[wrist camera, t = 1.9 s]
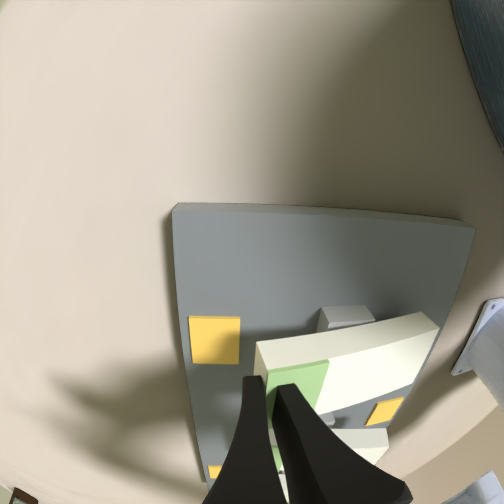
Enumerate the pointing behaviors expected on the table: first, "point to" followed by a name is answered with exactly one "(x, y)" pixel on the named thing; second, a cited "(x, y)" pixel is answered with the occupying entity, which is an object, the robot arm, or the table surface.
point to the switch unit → (299, 294)
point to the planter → (485, 54)
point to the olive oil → (22, 498)
